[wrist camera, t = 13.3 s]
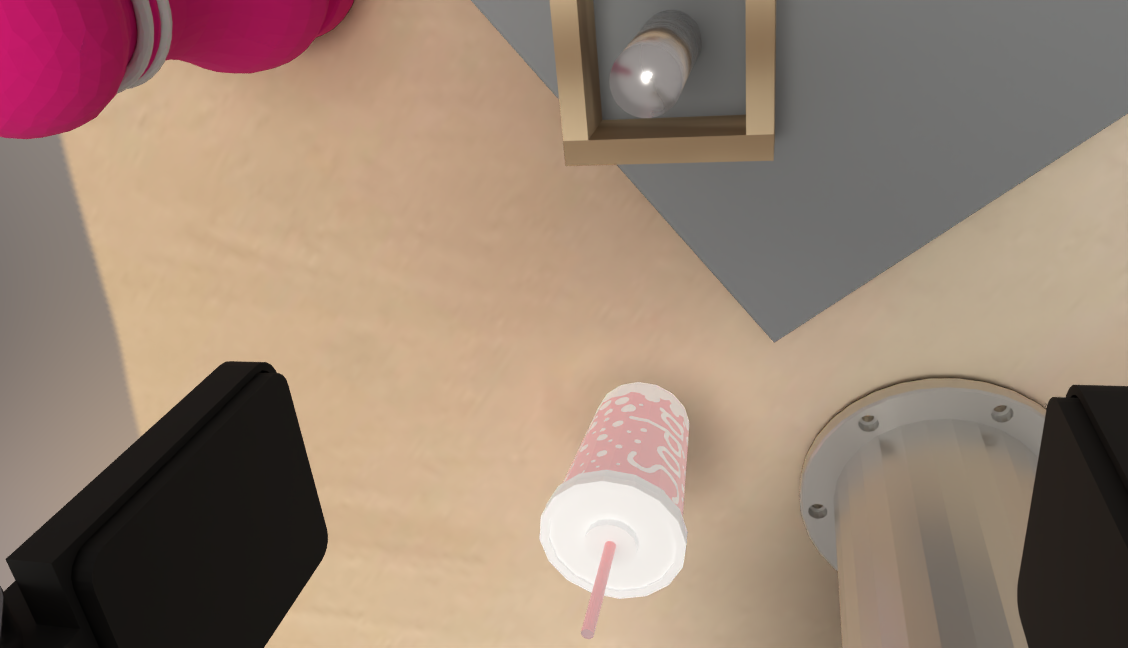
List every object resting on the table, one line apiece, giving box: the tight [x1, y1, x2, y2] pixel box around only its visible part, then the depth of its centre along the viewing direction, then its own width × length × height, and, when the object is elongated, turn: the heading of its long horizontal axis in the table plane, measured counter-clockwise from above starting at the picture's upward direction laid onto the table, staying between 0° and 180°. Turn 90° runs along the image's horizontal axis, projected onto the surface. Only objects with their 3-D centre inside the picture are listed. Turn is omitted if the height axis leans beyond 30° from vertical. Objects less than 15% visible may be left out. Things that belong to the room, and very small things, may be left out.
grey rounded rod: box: [609, 10, 701, 118], centre depth 33 cm, size 2×2×7 cm
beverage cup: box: [540, 382, 689, 639], centre depth 39 cm, size 6×6×14 cm
